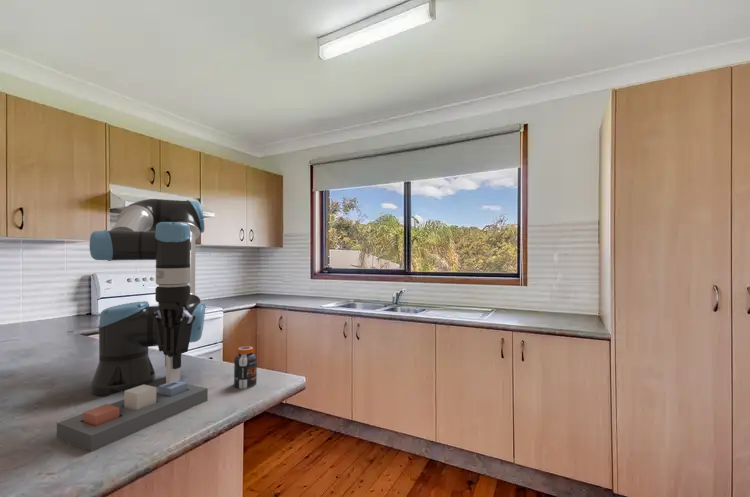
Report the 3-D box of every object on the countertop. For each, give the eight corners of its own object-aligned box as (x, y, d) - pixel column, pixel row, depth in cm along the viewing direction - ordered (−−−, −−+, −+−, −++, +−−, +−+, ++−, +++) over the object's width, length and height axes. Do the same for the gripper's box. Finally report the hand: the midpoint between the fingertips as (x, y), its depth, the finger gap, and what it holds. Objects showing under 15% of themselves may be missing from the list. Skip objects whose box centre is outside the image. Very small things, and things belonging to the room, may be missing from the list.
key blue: (158, 402, 90) (158, 385, 90) (175, 396, 94) (175, 380, 94) (170, 405, 88) (170, 388, 88) (187, 398, 92) (187, 382, 92)
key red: (83, 431, 75) (83, 412, 75) (106, 422, 79) (106, 404, 79) (96, 436, 73) (96, 416, 73) (119, 426, 77) (119, 407, 77)
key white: (124, 408, 82) (124, 390, 82) (143, 401, 86) (143, 384, 86) (136, 412, 80) (136, 394, 80) (156, 404, 84) (156, 387, 84)
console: (56, 442, 74) (56, 422, 74) (175, 396, 98) (175, 381, 98) (91, 457, 69) (91, 435, 69) (207, 404, 93) (207, 388, 93)
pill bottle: (249, 392, 100) (249, 351, 100) (229, 391, 101) (229, 349, 101) (260, 385, 106) (260, 345, 106) (241, 383, 107) (241, 344, 107)
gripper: (141, 285, 90) (141, 381, 90) (177, 288, 85) (177, 390, 85) (169, 282, 97) (169, 372, 97) (204, 285, 91) (204, 380, 91)
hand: (173, 381), depth 91 cm, fingers closed
